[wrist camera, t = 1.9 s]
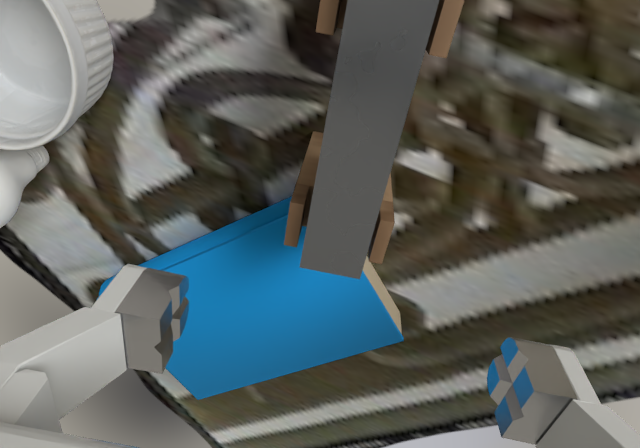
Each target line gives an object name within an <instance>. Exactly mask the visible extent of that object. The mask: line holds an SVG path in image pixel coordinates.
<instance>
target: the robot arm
mask: <svg viewBox="0 0 640 448" xmlns="http://www.w3.org/2000/svg"><path fill="white" fill-rule="evenodd" d="M188 289H189V278H188V277H187V276H184V275H180V274H175V273H171V272H166V271H161V270H157V269H152V268H145V267H140V266H136V265H131V264H127V265H125V266H124V267H122V269H121V270H120V271H119V272H118V274H117V275H116V276H115V278H114V279H113V280H112V281H111V283H110V284H109V285H108V287H107V288H106V289H105V290H104V292H103V293H102V294H101V295H100V297H99V298H98V299H97V301H96V302H95V303H94V304H93V306H92V307H91V308H88V307H83V308H81V309H79V310H77V311H75V312H73V313H70V314H68V315H66V316H64V317H62V318H59V319H58V320H55V321H53V322H51V323H49V324H47V325H44V326H42V327H40V328H38V329H36V330H33V331H31V332H29V333H27V334H25V335H23V336H20V337H18V338H16V339H14V340H12V341H9V342H7V343H5V344H3V345H1V346H0V448H139V447H133V446H128V445H122V444H117V443H111V442H106V441H101V440H95V439H90V438H84V437H79V436H74V435H69V434H63V433H62V429H61V425H60V422H59V420H60V419H61V418H62V417H64V416H65V415H66V414H68V413H69V412H70V411H72V410H73V409H75V408H76V407H77V406H78V405H80V404H81V403H83V402H84V401H85V400H87V399H88V398H89V397H91V396H92V395H94V394H95V393H96V392H98V391H99V390H100V389H102V388H103V387H104V386H106V385H107V384H109V383H110V382H111V381H113V380H114V379H115V378H117V377H118V376H119V375H121V374H122V373H123V372H125V371H126V370H127V368H130V369H137V370H143V371H149V372H156V373H163V371H164V369H165V367H166V365H167V363H168V361H169V359H170V357H171V355H172V353H173V342H174V341H175V340H177V339H178V338H180V336H181V334H182V332H183V330H184V328H185V324H186V321H187V318H188V311H189V301H188V299H187V298H186V297H185V295H186V293H187V291H188ZM500 348H501V351H502V355H500V356H499V357H497V358H495V359H493V361H492V363H491V365H490V367H489V370H488V376H487V384H488V390H489V394H490V397H491V398H492V399H493V400H494V401H495V402H496V403H497V404H498V407H497V409H496V410H495V416H496V419H497V423H498V426H499V430H500V433H501V437H503V438H507V439H512V440H516V441H521V442H526V443H531V444H535V445H536V448H640V434H639V433H638V432H637V431H636V430H635V429H633V428H632V427H631V426H630V425H629V424H628V423H627V422H625V421H624V420H623V419H622V418H621V417H620V416H619V415H618V414H616V413H615V412H614V411H613V410H612V409H611V408H609V407H608V406H606V405H601V403H600V401H599V399H598V397H597V395H596V393H595V391H594V390H593V388H592V386H591V384H590V382H589V380H588V378H587V376H586V374H585V372H584V370H583V369H582V367H581V365H580V363H579V361H578V359H577V357H576V355H575V353H574V352H573V351H572V350H571V349H570V348H567V347H562V346H556V345H550V344H548V345H547V344H543V343H538V342H532V341H527V340H521V339H516V338H510V337H509V338H507V339H506V340H505V341H504V342H503V344H502V345H501V347H500Z"/></svg>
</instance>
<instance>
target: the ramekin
mask: <svg viewBox="0 0 640 448" xmlns="http://www.w3.org/2000/svg"><path fill="white" fill-rule="evenodd" d="M113 59H114V58H113V45H112V38H111V35H110V32H109V26H108V24H107V22H106V19H105V17H104V13H103V12H102V11H101V9H100V7H99V4H98V2H97V0H0V149H5V150H26V149H31V148H35V147H39V146H41V145H44V144H46V143H48V142H50V141H52V140H54V139H56V138H57V137H59V136H61V135H62V134H64V133H65V132H66V131H67V130H68V129H69V128H70V127H71V126H72V125H73V124H74V123H75V122H76V120H77V119H78V118H79V117H80V116H81V115H82V114H84V113H85V112H86V111H87V110H88V109H90V108H91V107H92V106H93V105H94V104H95V102H96V101H97V100H98V99H99V98H100V97H101V96H102V94H103V92H104V90H105V89H106V87H107V85H108V82H109V80H110V78H111V72H112V69H113Z"/></svg>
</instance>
